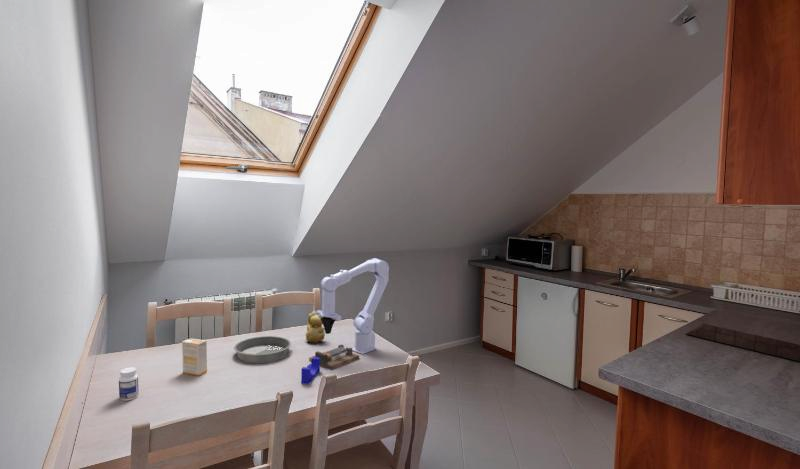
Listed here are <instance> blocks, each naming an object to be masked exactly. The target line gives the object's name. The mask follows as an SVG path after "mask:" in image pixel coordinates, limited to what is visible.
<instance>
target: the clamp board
mask: <svg viewBox="0 0 800 469" xmlns="http://www.w3.org/2000/svg"><path fill="white" fill-rule="evenodd" d="M342 346H344V344H339V345H338V346H337V347H336V348H332V349H331V350H334V349H337V348H339V347H342ZM347 348H348V349H347V351H345V352H343V353H340V354H338V355H335V356H333V357H330V358H328V359H327V354H324V353H323V352H321V351H315V354H314V355H312V356H310V357H309V358H308V361H309V362H310V363H312V358H313V357H316V358H320V367H322V368H325V369H327V370H335V369H336V368H340V367H341V366H344V365H347V364H349V363H351V362H352V363H353V362H354V361H357V360H359V359H360V355H359V354H357V353H354V352H353V351H352V347H347ZM331 350H327V351H326V352H329V351H331Z"/></svg>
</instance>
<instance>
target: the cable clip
mask: <svg viewBox="0 0 800 469" xmlns="http://www.w3.org/2000/svg"><path fill="white" fill-rule="evenodd" d="M312 357H313V356H312ZM320 371H321V366H320V358H316V357H313V358H312V362H310V363H309V364H307V365H306V367H304V366H303V367H302V368H301V372H300V373H301V380H300V381H301V384H306V385H310V383H311V382H312V381H313V380H314V379H315V378H316V376H318V374H319V373H320ZM313 378H314V379H313Z"/></svg>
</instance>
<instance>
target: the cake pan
mask: <svg viewBox="0 0 800 469" xmlns="http://www.w3.org/2000/svg"><path fill="white" fill-rule="evenodd" d="M268 345H270V346H272V347H271V348H270V349H272V350H267V349H269V348H267V347H268ZM291 345H292V342H291V340H289V339H287V338H286V337H282V336H275V335H272V336H271V335H269V336H268V335H263V336H256V337H255V336H254V337H250V338H245V339H243V340H240V341H239V342H237V343H236V344H234V346H233V349H234V351H235V352H236V355H237V358H239V360H240V361H242V362H245V363H246V362H247V363H254V364H258V363H260V364H261V363H268V362H269V363H270V362H274V361H279V360H280V359H282V358H284V357H285V356H286V355H287V354H288V351H289V348H290V347H291ZM263 346H264V347H265V346H266V349H264V350H261V351H259V352H257V353H246V352H244V351H245V350H248V349H251V348H256V347H263ZM275 346H277V347H275ZM273 347H274V348H278V347H280V348H281V347H282V348H281V349H280V350H279V348H278V350H277V349H275V350H273Z"/></svg>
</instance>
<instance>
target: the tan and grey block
mask: <svg viewBox="0 0 800 469" xmlns="http://www.w3.org/2000/svg"><path fill="white" fill-rule="evenodd" d="M336 348H337V349H335V348H333V349H334V350H332V349H331V351H330V350H328V351H329V352H327V351H324V352H322V353H324V354H327V359H328V358H330V357H333V356H335V355H338V354H340V353H343V352H345V351H347V349H348V348H349V347H347V346H344V345H343V346H342V347H339V348H338V347H336Z"/></svg>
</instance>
